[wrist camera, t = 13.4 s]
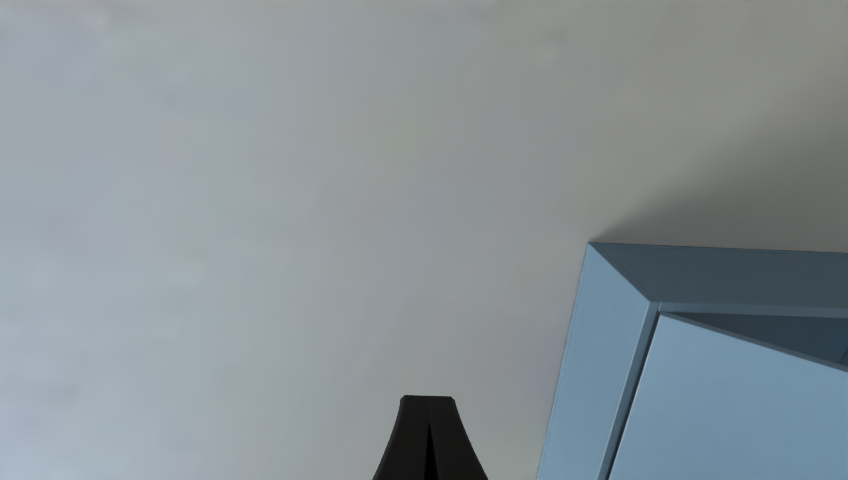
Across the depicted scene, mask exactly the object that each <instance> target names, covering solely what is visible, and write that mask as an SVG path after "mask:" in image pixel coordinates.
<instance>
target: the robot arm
mask: <svg viewBox="0 0 848 480" xmlns="http://www.w3.org/2000/svg"><path fill="white" fill-rule="evenodd" d="M372 480H488V478H487V476H486V474H485V472H484V470H483V468H482V466H481V464H480V462H479V460H478V458H477V456H476V454H475V452H474V450H473V448H472V445H471V443H470V441H469V439H468V436H467V434H466V431H465V429H464V427H463V424H462V421H461V419H460V416H459V413H458V410H457V407H456V404H455V400H454V399H453V398H452V397H446V396H415V395H405V396H403V397H402V398H401V400H400V407H399V411H398V415H397V419H396V422H395V425H394V428H393V431H392V434H391V437H390V440H389V442H388V445H387V447H386V450H385V452H384V454H383V457H382V459H381V462H380V464H379V467H378V469H377V471H376V473H375V475H374V477H373V479H372Z"/></svg>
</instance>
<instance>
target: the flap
mask: <svg viewBox="0 0 848 480" xmlns="http://www.w3.org/2000/svg"><path fill="white" fill-rule="evenodd" d="M609 480H848V367H846V366H843V365H840V364H836V363H833V362H830V361H826V360H823V359H820V358H816V357H813V356H810V355H806V354H803V353H800V352H797V351H793V350H790V349H787V348H783V347H780V346H777V345H773V344H770V343H767V342H763V341H760V340H757V339H753V338H750V337H747V336H744V335H740V334H737V333H734V332H730V331H727V330H724V329H720V328H717V327H714V326H710V325H707V324H704V323H700V322H697V321H694V320H691V319H687V318H684V317H681V316H677V315H674V314H671V313H667V312H664V311H661V313H660V317H659V320H658V323H657V326H656V330H655V333H654V336H653V339H652V342H651V346H650V349H649V352H648V355H647V358H646V362H645V365H644V368H643V371H642V374H641V378H640V381H639V384H638V387H637V390H636V394H635V397H634V400H633V403H632V406H631V410H630V413H629V416H628V419H627V422H626V426H625V429H624V432H623V435H622V438H621V442H620V445H619V448H618V451H617V455H616V458H615V461H614V464H613V467H612V471H611V474H610V477H609Z"/></svg>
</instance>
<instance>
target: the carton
mask: <svg viewBox="0 0 848 480" xmlns="http://www.w3.org/2000/svg"><path fill="white" fill-rule="evenodd" d="M661 311H664V312H667V313H671V314H674V315H677V316H681V317H684V318H687V319H691V320H694V321H697V322H700V323H704V324H707V325H710V326H714V327H717V328H720V329H724V330H727V331H730V332H734V333H737V334H740V335H744V336H747V337H750V338H753V339H757V340H760V341H763V342H767V343H770V344H773V345H777V346H780V347H783V348H787V349H790V350H793V351H797V352H800V353H803V354H806V355H810V356H813V357H816V358H820V359H823V360H826V361H830V362H833V363H836V364H840V365H843V366H846V367H848V253H832V252H808V251H784V250H760V249H735V248H711V247H687V246H663V245H639V244H615V243H591V242H588V243H587V248H586V252H585V257H584V261H583V266H582V271H581V275H580V280H579V285H578V289H577V294H576V298H575V303H574V308H573V312H572V317H571V322H570V326H569V331H568V335H567V340H566V345H565V349H564V354H563V359H562V363H561V368H560V372H559V377H558V382H557V386H556V391H555V396H554V400H553V405H552V409H551V414H550V419H549V423H548V428H547V433H546V437H545V442H544V446H543V451H542V456H541V460H540V465H539V470H538V474H537V479H536V480H609V477H610V474H611V471H612V467H613V464H614V461H615V458H616V455H617V451H618V448H619V445H620V442H621V438H622V435H623V432H624V429H625V426H626V422H627V419H628V416H629V413H630V410H631V406H632V403H633V400H634V397H635V394H636V390H637V387H638V384H639V381H640V378H641V374H642V371H643V368H644V365H645V362H646V358H647V355H648V352H649V349H650V346H651V342H652V339H653V336H654V333H655V330H656V326H657V323H658V320H659V317H660V313H661Z"/></svg>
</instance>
